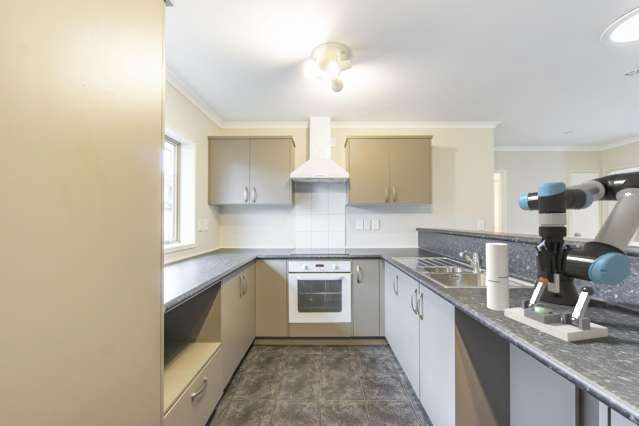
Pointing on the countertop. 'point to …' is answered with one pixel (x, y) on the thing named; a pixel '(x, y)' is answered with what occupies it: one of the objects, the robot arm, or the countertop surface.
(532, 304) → the lever
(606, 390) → the countertop surface
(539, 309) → the button
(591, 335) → the panel
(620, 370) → the countertop surface
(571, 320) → the lever
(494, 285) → the cylindrical container
